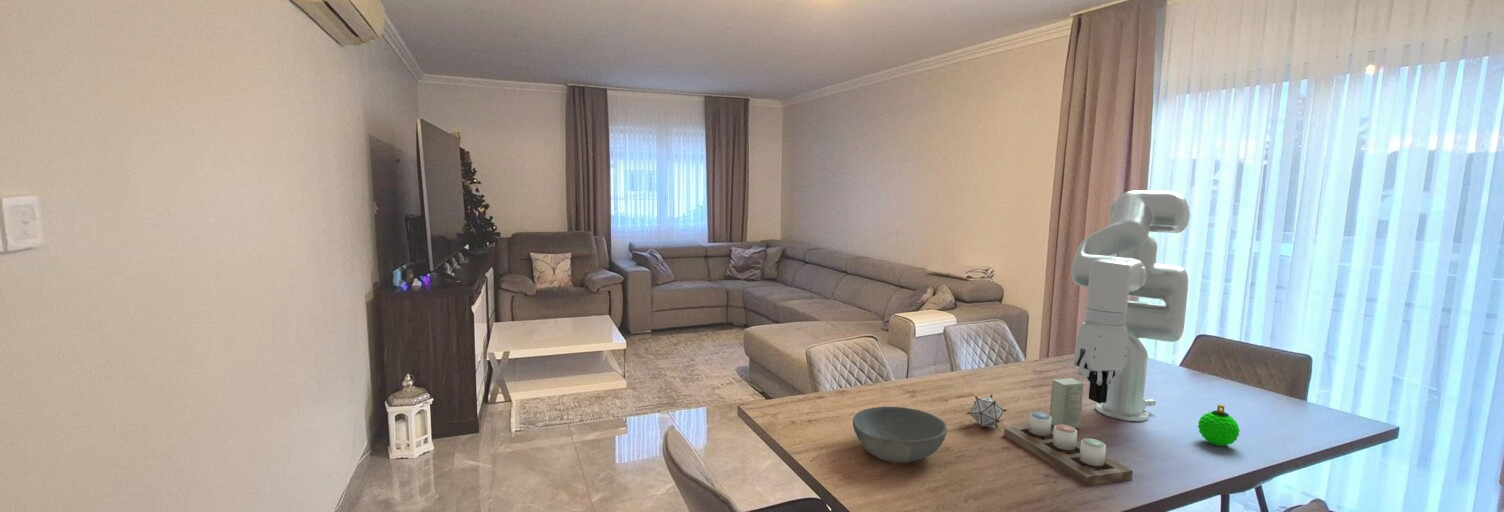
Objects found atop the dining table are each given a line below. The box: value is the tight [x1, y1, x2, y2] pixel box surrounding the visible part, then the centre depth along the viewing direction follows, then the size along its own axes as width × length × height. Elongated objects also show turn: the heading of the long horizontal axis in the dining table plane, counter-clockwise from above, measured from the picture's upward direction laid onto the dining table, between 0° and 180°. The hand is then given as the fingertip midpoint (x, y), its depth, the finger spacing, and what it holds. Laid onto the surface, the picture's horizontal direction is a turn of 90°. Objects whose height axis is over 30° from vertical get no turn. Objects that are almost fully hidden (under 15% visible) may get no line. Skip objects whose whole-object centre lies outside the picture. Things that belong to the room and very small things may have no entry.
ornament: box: [1197, 404, 1241, 447], centre depth 149 cm, size 8×8×10 cm
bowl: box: [852, 406, 948, 464], centre depth 139 cm, size 21×21×8 cm
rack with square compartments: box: [1003, 424, 1134, 487], centre depth 141 cm, size 12×26×2 cm, turn 15°
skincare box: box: [1049, 377, 1084, 429], centre depth 159 cm, size 6×4×12 cm
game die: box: [966, 393, 1008, 431], centre depth 157 cm, size 9×8×10 cm
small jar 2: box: [1053, 424, 1078, 451], centre depth 141 cm, size 5×5×4 cm
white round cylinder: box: [1079, 437, 1107, 467], centre depth 133 cm, size 5×5×4 cm
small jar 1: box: [1028, 411, 1052, 437], centre depth 148 cm, size 5×5×4 cm
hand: (1097, 400), depth 131 cm, fingers closed
